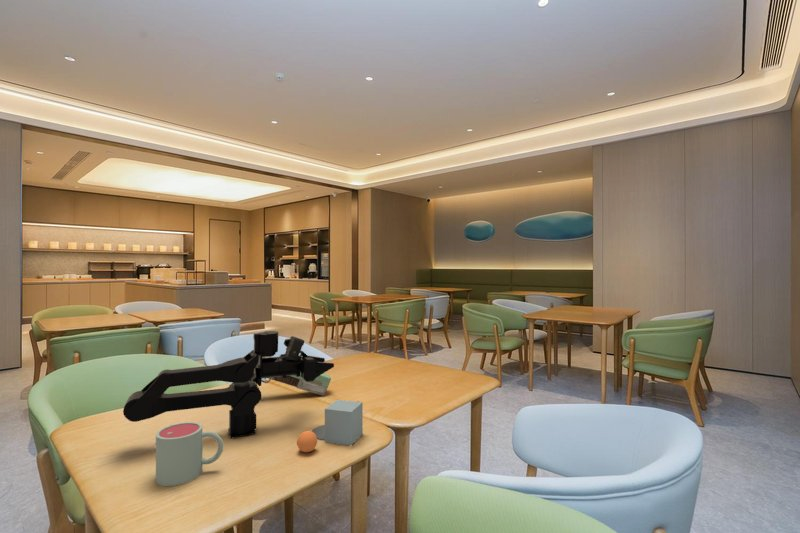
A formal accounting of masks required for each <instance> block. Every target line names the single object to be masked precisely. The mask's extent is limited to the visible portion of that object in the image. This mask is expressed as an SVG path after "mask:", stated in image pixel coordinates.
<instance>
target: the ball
mask: <svg viewBox="0 0 800 533" xmlns="http://www.w3.org/2000/svg"><path fill="white" fill-rule="evenodd" d="M317 443H318V439H317V437H316V435H315V433H313V432H312V430H305V431H302V432H301V433H300V434H299V436H297V440H296V445H297V448H298V449H299V450H300V451H301V452H302V453H310V452H312V451H314V450H315V449H316V447H317V445H318V444H317Z"/></svg>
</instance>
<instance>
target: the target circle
mask: <svg viewBox="0 0 800 533" xmlns="http://www.w3.org/2000/svg"><path fill="white" fill-rule="evenodd" d="M311 431H312V432H313V433H315V435H316V437H317V440H320V441H321V440H322V441H325V424H323V425H319V426H316V427H314V428H312V429H311Z"/></svg>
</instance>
